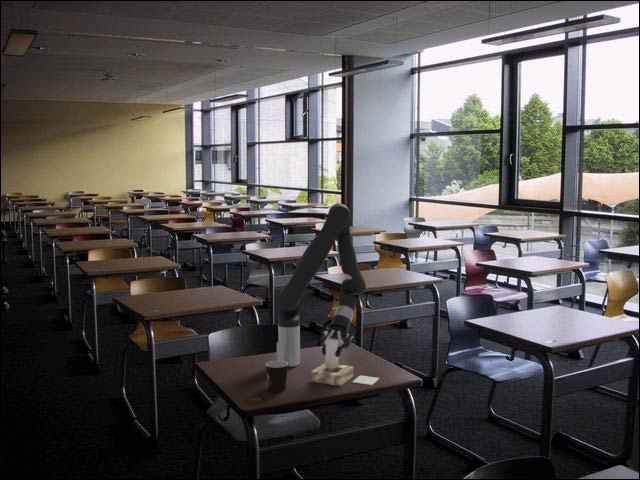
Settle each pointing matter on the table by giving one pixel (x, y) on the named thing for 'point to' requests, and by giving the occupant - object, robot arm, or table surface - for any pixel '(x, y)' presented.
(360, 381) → the mat
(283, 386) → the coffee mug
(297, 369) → the table surface
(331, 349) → the white upright block
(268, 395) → the table surface
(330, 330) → the robot arm
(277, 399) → the table surface
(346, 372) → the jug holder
